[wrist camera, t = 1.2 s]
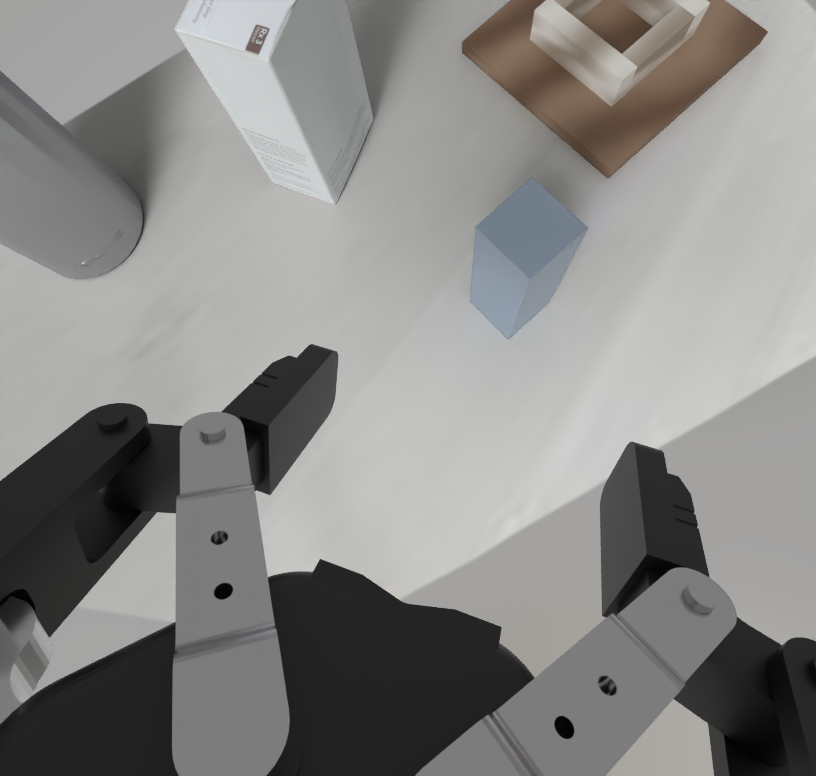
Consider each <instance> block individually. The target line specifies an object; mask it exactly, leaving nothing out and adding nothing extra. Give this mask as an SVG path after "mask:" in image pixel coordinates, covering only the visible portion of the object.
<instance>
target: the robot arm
mask: <svg viewBox="0 0 816 776" xmlns="http://www.w3.org/2000/svg"><path fill="white" fill-rule="evenodd" d="M142 224H143V212H142V208H141V203H140V201H139V199H138V197H137V195H136V193H135V192H134V191H133V190H132V188H131V187H130V186H129V185H128V184H127V183H125V182H124V181H123V180H122V179H121V178H120V177H119V176H118V175H117V174H115V173H114V172H113V171H112V170H111V169H110V168H109V167H108V166H106V165H105V164H104V163H103V162H102V161H101V160H100V159H99V158H98V157H97V156H96V155H94V154H93V153H92V152H91V151H90V150H89V149H88V148H87V147H85V146H84V145H83V144H82V143H81V142H80V141H79V140H78V139H76V138H75V137H74V136H73V135H72V134H71V133H70V132H69V131H67V130H66V129H65V128H64V127H63V126H62V125H61V124H60V123H59V122H57V121H56V120H55V119H54V118H53V117H52V116H51V115H50V114H48V113H47V112H46V111H45V110H44V109H43V108H42V107H41V106H39V105H38V104H37V103H36V102H35V101H34V100H33V99H32V98H30V97H29V96H28V95H27V94H26V93H25V92H24V91H22V90H21V89H20V88H19V87H18V86H17V85H16V84H15V83H13V82H12V81H11V80H10V79H9V78H8V77H7V76H6V75H4V74H3V73H2V72H1V71H0V244H2V245H4V246H6V247H8V248H10V249H12V250H14V251H15V252H17V253H19V254H21V255H23V256H25V257H27V258H29V259H31V260H33V261H35V262H37V263H39V264H41V265H43V266H45V267H47V268H49V269H50V270H52V271H54V272H56V273H58V274H61V275H63V276H65V277H69V278H74V279H89V278H93V277H97V276H100V275H103V274H105V273H107V272H109V271H111V270H112V269H114V268H115V267H117V266H118V265H120V264H121V263H122V262H123V261H124V260H125V259H126V258H127V257H128V256H129V254H130V253H131V251H132V250H133V248H134V247H135V245H136V243H137V241H138V239H139V236H140V234H141V229H142ZM337 368H338V353H337V352H336V351H333V350H330V349H326V348H323V347H320V346H316V345H313V344H311V345H309V346H308V347H307V348H306V349H305V350H304V351H303V352H302V353H301V354H300V355H299V356H298V357H297V358H295V357H292V356H287V357H284V358H282V359H280V360H277V361H275V362H273V363H272V364H271V365H270V366H269V367H268V368H267V369H266V370H265V371H263V372H262V375H259V376H258V377H257V378H256V379H255V380H254V381H253V384H252V383H251V384H250V385H249V386H248V387H247V388H246V389H245V390H244V391H243V392H242V393H241V394H239V395H238V396H237V397H236V398H235V399H234V400H233V401H232V402H231V403H230V404H229V405H228V406H227V407H226V408H225V409H224V410H223V411H222V412H209V413H204V414H200V415H198V416H195V417H193V418H191V419H190V420H188V421H187V422H186V423H185V424H184V425H183V426H174V425H161V424H148V419H147V415H146V413H145V411H144V410H143V409H142V408H140V407H138V406H136V405H132V404H127V403H115V404H109V405H105V406H101V407H98V408H96V409H94V410H92V411H90V412H89V413H87V414H86V415H84V416H83V417H82V418H81V419H79V420H78V421H77V422H75V423H74V424H73V425H72V426H70V427H69V428H68V429H66V430H65V431H64V432H63V433H61V434H60V435H59V436H57V437H56V438H55V439H54V440H52V441H51V442H50V443H48V444H47V445H46V446H45V447H43V448H42V449H41V450H39V451H38V452H37V453H36V454H34V455H33V456H32V457H31V458H29V459H28V460H27V461H25V462H24V463H23V464H22V465H20V466H19V467H18V468H16V469H15V470H14V471H13V472H11V473H10V474H9V475H7V476H6V477H5V478H4V479H2V480H1V481H0V776H606V775H607V773H608V772H609V771H610V770H611V769H612V768H613V766H615V764H616V763H617V762H618V761H619V760H620V759H621V758H622V756H623V755H624V754H625V753H626V752H627V751H628V750H629V749H630V747H631V746H632V745H633V744H634V743H635V742H636V741H637V739H638V738H639V737H640V736H641V735H642V734H643V732H645V730H646V729H647V728H648V727H649V726H650V725H651V724H652V723H653V721H654V720H655V719H656V718H657V717H658V716H659V715H660V713H661V712H662V711H663V710H664V709H665V708H666V707H667V705H668V704H669V703H670V702H671V701H672V700H673V699H675V700H676V701H677V702H679V703H680V704H682V705H683V706H684V707H686V708H687V709H689V710H690V711H692V712H693V713H694V714H696V715H697V716H698V717H700V718H701V719H703V720H704V721H706V722H707V723H708V726H709V735H710V744H711V751H712V760H713V769H714V776H816V641H814V640H810V639H807V638H792V639H790V640H788V641H787V642H786V643H785V644H783V645H780V644H779V643H777V642H775V641H774V640H772V639H770V638H769V637H767V636H765V635H764V634H762V633H761V632H759V631H757V630H756V629H754V628H752V627H751V626H749V625H748V624H746V623H745V622H743V621H742V620H740V619H739V618H738V617H737V614H736V610H735V607H734V605H733V603H732V601H731V599H730V598H729V596H728V595H727V593H726V592H725V591H724V590H723V589H722V588H721V587H720V586H719V585H718V584H717V583H716V582H714V581H713V580H712V579H710V577H709V573H708V568H707V564H706V559H705V555H704V551H703V547H702V542H701V537H700V533H699V529H698V528H697V525H698V524H697V520H696V515H695V514H694V506H693V503H692V498H691V494H690V493H689V491H688V490H687V488H686V487H685V485H684V484H683V482H682V481H681V479H680V478H679V477H678V476H675V475H671V474H668V473H667V468H666V463H665V458H664V453H663V452H662V451H661V450H658V449H654V448H651V447H648V446H644V445H641V444H638V443H635V442H630V443H629V444H628V445H627V446H626V448H625V450H624V451H623V453H622V455H621V457H620V459H619V460H618V462H617V464H616V466H615V468H614V469H613V471H612V473H611V475H610V477H609V478H608V480H607V482H606V484H605V486H604V489H603V492H602V496H601V501H600V522H601V525H600V526H601V527H600V528H601V575H602V576H601V578H602V616H604V617H607V618H606V619H605V620H603V621H602V622H601V623H600V624H598V625H597V626H596V627H595V628H594V629H592V630H591V631H590V632H589V633H588V634H587V635H585V636H584V637H583V638H582V639H581V640H579V641H578V642H577V643H576V644H575V645H573V646H572V647H571V648H570V649H569V650H568V651H566V652H565V653H564V654H563V655H562V656H560V657H559V658H558V659H557V660H556V661H554V662H553V663H552V664H551V665H550V666H549V667H548V668H546V669H545V670H544V671H543V672H542V673H540V674H539V675H538V676H537V677H536V678H534V676H533V675H532V674H531V672H530V671H529V670H528V669H527V667H526V666H525V665H524V664H523V663H522V662H521V661H520V660H519V659H518V658H517V657H516V656H515V655H514V654H513V653H512V652H511V651H509V650H508V649H507V648H506V647H504V646H503V645H501V644H500V643H499V640H500V633H501V627H500V626H497V625H495V624H492V623H489V622H487V621H484V620H481V619H479V618H476V617H473V616H470V615H468V614H465V613H462V612H460V611H457V610H454V609H446V608H437V607H429V606H421V605H412V604H406V603H404V602H402V601H400V600H398V599H397V598H395V597H394V596H393V595H391V594H390V593H388V592H387V591H385V590H384V589H382V588H381V587H379V586H378V585H377V584H375V583H374V582H372V581H371V580H369V579H368V578H366V577H365V576H363V575H361V574H359V573H356V572H353V571H351V570H348V569H345V568H343V567H340V566H337V565H335V564H332V563H329V562H327V561H324V560H321V559H320V560H319V562H318V564H317V566H316V568H315V570H314V571H313V572H288V573H282V574H278V575H273V576H270V577H268V576H267V569H266V563H265V556H264V549H263V543H262V536H261V529H260V523H259V516H258V509H257V502H256V496H255V491H256V490H257V491H260V492H263V493H266V494H269V495H271V493H272V492H273V491H274V489H275V488H276V487H277V485H278V484H279V482H280V481H281V480H282V478H283V477H284V476H285V474H286V473H287V472H288V470H289V469H290V467H291V466H292V465H293V463H294V462H295V461H296V459H297V458H298V457H299V455H300V454H301V452H302V451H303V450H304V448H305V447H306V446H307V444H308V443H309V441H310V440H311V439H312V437H313V436H314V435H315V433H316V432H317V431H318V429H319V428H320V426H321V425H322V424H323V422H324V421H325V420H326V418H327V417H328V415H329V414H330V412H331V409H332V407H333V404H334V400H335V394H336V381H337ZM157 512H164V513H176V622H174V623H172V624H170V625H168V626H166V627H164V628H162V629H161V630H158V631H156V632H154V633H152V634H150V635H148V636H146V637H144V638H142V639H140V640H138V641H136V642H134V643H132V644H130V645H128V646H126V647H124V648H122V649H120V650H118V651H116V652H114V653H112V654H110V655H108V656H106V657H104V658H102V659H100V660H98V661H96V662H94V663H92V664H90V665H88V666H86V667H83V668H81V669H80V670H77V671H75V672H74V673H71V674H69V675H67V676H65V677H64V678H61V679H60V680H57V681H56V682H54V683H52V684H50V685H48V686H47V687H45V688H43V689H42V690H40V691H39V692H37V693H36V694H34V695H33V696H32V694H33V691H34V690H35V688H36V686H37V684H38V681H39V680H40V678H41V677H42V675H43V674H44V672H45V670H46V669H47V667H48V665H49V663H50V659H51V655H52V644H51V641H50V639H49V637H50V636H51V635H52V634H53V633H54V632H55V630H56V629H57V628H58V627H59V626H60V625H61V624H62V622H63V621H64V620H65V619H66V618H67V617H68V615H69V614H70V613H71V612H72V611H73V610H74V608H75V607H76V606H77V605H78V604H79V603H80V601H81V600H82V599H83V598H84V597H85V596H86V594H87V593H88V592H89V591H90V590H91V589H92V587H93V586H94V585H95V584H96V583H97V582H98V580H99V579H100V578H101V577H102V576H103V575H104V573H105V572H106V571H107V570H108V569H109V568H110V566H111V565H112V564H113V563H114V562H115V561H116V559H117V558H118V557H119V556H120V555H121V554H122V553H123V551H124V550H125V549H126V548H127V547H128V546H129V544H130V543H131V542H132V541H133V540H134V539H135V537H136V536H137V535H138V534H139V533H140V532H141V530H142V529H143V528H144V527H145V526H146V525H147V523H148V522H149V521H150V520H151V519H152V518H153V516H154V515H155V514H156V513H157Z"/></svg>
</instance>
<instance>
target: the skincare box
mask: <svg viewBox="0 0 816 776" xmlns="http://www.w3.org/2000/svg"><path fill="white" fill-rule="evenodd" d="M174 29H175V31H176V33H177V34H178V36H179V37H180V39H181V40H182V42H183V43H184V45H185V47H186V49H187V50H188V52H189V53H190V55H191V56H192V58H193V59H194V61H195V63H196V64H197V66H198V67H199V69H200V70H201V72H202V73H203V75H204V76H205V78H206V80H207V81H208V83H209V84H210V86H211V87H212V89H213V91H214V92H215V94H216V95H217V97H218V98H219V100H220V101H221V103H222V105H223V106H224V108H225V109H226V111H227V112H228V114H229V115H230V117H231V119H232V120H233V122H234V123H235V125H236V126H237V128H238V129H239V131H240V133H241V134H242V136H243V137H244V139H245V140H246V142H247V144H248V145H249V147H250V148H251V150H252V151H253V153H254V154H255V156H256V158H257V159H258V161H259V162H260V164H261V165H262V167H263V169H264V170H265V172H266V173H267V175H268V176H269V178H270V179H271V181H272V182H273V183H275V184H278V185H280V186H283V187H286V188H289V189H292V190H295V191H297V192H300V193H303V194H306V195H309V196H311V197H314V198H317V199H320V200H323V201H326V202H328V203H331V204H336V203H337V201H338V199H339V197H340V194H341V192H342V190H343V188H344V186H345V183H346V181H347V179H348V177H349V174H350V172H351V170H352V168H353V165H354V163H355V161H356V159H357V156H358V154H359V152H360V150H361V147H362V145H363V143H364V140H365V137H366V135H367V132H368V130H369V128H370V126H371V124H372V122H373V120H374V118H373V114H372V109H371V105H370V101H369V96H368V92H367V87H366V83H365V79H364V74H363V70H362V66H361V61H360V57H359V53H358V48H357V44H356V39H355V35H354V31H353V26H352V21H351V17H350V13H349V9H348V4H347V0H188V3H187V5H186V6H185V9H184V11H183V12H182V14H181V16H180V18H179V20H178V22H177V24H176V26H175V28H174Z"/></svg>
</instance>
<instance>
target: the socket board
mask: <svg viewBox="0 0 816 776" xmlns="http://www.w3.org/2000/svg"><path fill="white" fill-rule="evenodd" d="M767 32H768V31H766V30H765V29H763V28H762V27H761V26H759V25H758V24H757V23H755V22H754V21H752V20H751V19H750V18H748V17H747V16H745V15H744V14H743V13H741V12H740V11H739V10H737V9H736V8H734V7H733V6H732V5H730V4H729V3H727V2H726V1H725V0H511V1H510V2H508V3H507V4H506V5H505V6H504V7H503V8H501V9H500V10H499V11H498V12H497V13H495V14H494V15H493V16H492V17H491V18H490V19H488V20H487V21H486V22H485V23H484V24H483V25H481V26H480V27H479V28H478V29H477V30H476V31H474V32H473V33H472V34H471V35H470V36H469V37H467V38H466V39H465V40H464V41H463V42H462V53H464V54H465V55H466V56H467V57H468V58H469V59H470V60H472V61H473V62H474V63H475V64H476V65H477V66H479V67H480V68H481V69H482V70H483V71H484V72H486V73H487V74H488V75H489V76H490V77H491V78H492V79H494V80H495V81H496V82H497V83H498V84H499V85H501V86H502V87H503V88H504V89H505V90H506V91H508V92H509V93H510V94H511V95H512V96H513V97H514V98H516V99H517V100H518V101H519V102H520V103H521V104H523V105H524V106H525V107H526V108H527V109H528V110H529V111H531V112H532V113H533V114H534V115H535V116H536V117H538V118H539V119H540V120H541V121H542V122H543V123H545V124H546V125H547V126H548V127H549V128H550V129H551V130H553V131H554V132H555V133H556V134H557V135H558V136H560V137H561V138H562V139H563V140H564V141H565V142H567V143H568V144H569V145H570V146H571V147H572V148H573V149H575V150H576V151H577V152H578V153H579V154H580V155H582V156H583V157H584V158H585V159H586V160H587V161H589V162H590V163H591V164H592V165H593V166H594V167H595V168H597V169H598V170H599V171H600V172H601V173H602V174H604V175H605V176H606V177H607V178H609V177H610V176H611V175H613V174H614V173H615V172H616V171H617V170H618V169H619V168H620V167H622V166H623V165H624V164H625V163H626V162H627V161H628V160H629V159H630V158H632V157H633V156H634V155H635V154H636V153H637V152H638V151H639V150H641V149H642V148H643V147H644V146H645V145H646V144H647V143H648V142H650V141H651V140H652V139H653V138H654V137H655V136H656V135H657V134H659V133H660V132H661V131H662V130H663V129H664V128H665V127H666V126H668V125H669V124H670V123H671V122H672V121H673V120H674V119H675V118H677V117H678V116H679V115H680V114H681V113H682V112H683V111H684V110H686V109H687V108H688V107H689V106H690V105H691V104H692V103H693V102H695V101H696V100H697V99H698V98H699V97H700V96H701V95H702V94H703V93H705V92H706V91H707V90H708V89H709V88H710V87H711V86H712V85H714V84H715V83H716V82H717V81H718V80H719V79H720V78H721V77H723V76H724V75H725V74H726V73H727V72H728V71H729V70H730V69H732V68H733V67H734V66H735V65H736V64H737V63H738V62H739V61H741V60H742V59H743V58H744V57H745V56H746V55H747V54H748V53H750V52H751V51H752V50H753V49H754V48H755V47H756V46H757V45H759V44H760V42H761V41H762V40H763V38H764V37H765V35H766V34H767Z"/></svg>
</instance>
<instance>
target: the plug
mask: <svg viewBox="0 0 816 776" xmlns="http://www.w3.org/2000/svg"><path fill="white" fill-rule="evenodd" d="M587 229H588V227H587V226H586V225H585V224H583V223H582V222H581V221H580V220H579V219H578V218H577V217H576V216H575V215H573V214H572V213H571V212H570V211H569V210H568V209H567V208H566V207H565V206H563V205H562V204H561V203H560V202H559V201H558V200H557V199H556V198H555V197H553V196H552V195H551V194H550V193H549V192H548V191H547V190H546V189H545V188H543V187H542V186H541V185H540V184H539V183H538V182H537V181H536V180H535V179H533V178H530V179H529V180H528V181H527V182H526V183H525V184H524V185H522V186H521V187H520V188H519V189H518V190H517V191H516V192H515V193H513V194H512V195H511V196H510V197H509V198H508V199H507V200H505V201H504V202H503V203H502V204H501V205H500V206H499V207H497V208H496V209H495V210H494V211H493V212H492V213H491V214H490V215H488V216H487V217H486V218H485V219H484V220H483V221H482V222H480V223H479V224H478V225H477V226H476V227H475V239H474V253H473V267H472V281H471V295H470V302H471V303H472V304H473V305H474V306H475V307H476V308H477V309H478V310H479V311H480V312H481V313H482V314H483V315H484V316H485V317H486V318H487V319H488V320H489V321H490V322H491V323H492V324H493V325H494V326H495V327H496V328H497V329H498V330H499V331H500V332H501V333H502V334H503V335H504V336H505V337H506V338H507V339H510V338H511V337H512V336H513V335H514V334H515V333H516V332H517V331H518V330H520V329H521V328H522V327H523V326H524V325H525V324H526V323H527V322H528V321H530V320H531V319H532V318H533V317H534V316H535V315H536V314H537V313H538V312H540V311H541V310H542V309H543V308H544V307H545V306H546V305H547V304H548V303H549V302H550V300H551V298H552V296H553V294H554V292H555V290H556V288H557V286H558V285H559V283H560V281H561V279H562V277H563V275H564V273H565V271H566V269H567V267H568V265H569V263H570V262H571V260H572V258H573V256H574V254H575V252H576V250H577V248H578V246H579V244H580V242H581V240H582V238H583V237H584V235H585V233H586V231H587Z"/></svg>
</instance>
